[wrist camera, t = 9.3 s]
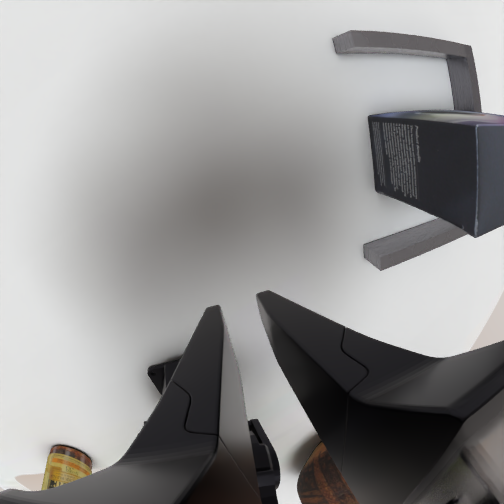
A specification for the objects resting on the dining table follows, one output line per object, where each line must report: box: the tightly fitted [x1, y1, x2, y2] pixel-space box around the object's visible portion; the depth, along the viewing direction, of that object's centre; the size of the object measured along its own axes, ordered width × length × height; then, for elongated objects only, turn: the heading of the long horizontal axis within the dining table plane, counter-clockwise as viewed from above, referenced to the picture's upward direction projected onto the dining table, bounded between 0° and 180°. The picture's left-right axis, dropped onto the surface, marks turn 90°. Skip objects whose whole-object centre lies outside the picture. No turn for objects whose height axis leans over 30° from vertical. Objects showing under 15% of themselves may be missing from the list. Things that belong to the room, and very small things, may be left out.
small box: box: [368, 110, 504, 238], centre depth 17 cm, size 11×6×10 cm, turn 102°
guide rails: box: [333, 30, 482, 271], centre depth 20 cm, size 17×13×2 cm
